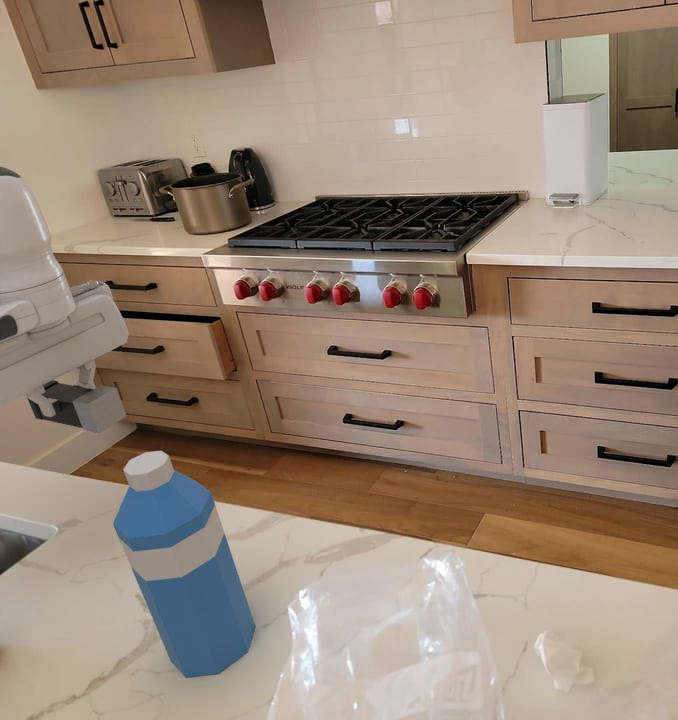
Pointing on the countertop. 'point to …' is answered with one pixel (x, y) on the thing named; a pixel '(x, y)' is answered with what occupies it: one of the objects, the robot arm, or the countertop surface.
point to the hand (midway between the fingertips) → (70, 404)
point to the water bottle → (183, 566)
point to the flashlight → (83, 406)
